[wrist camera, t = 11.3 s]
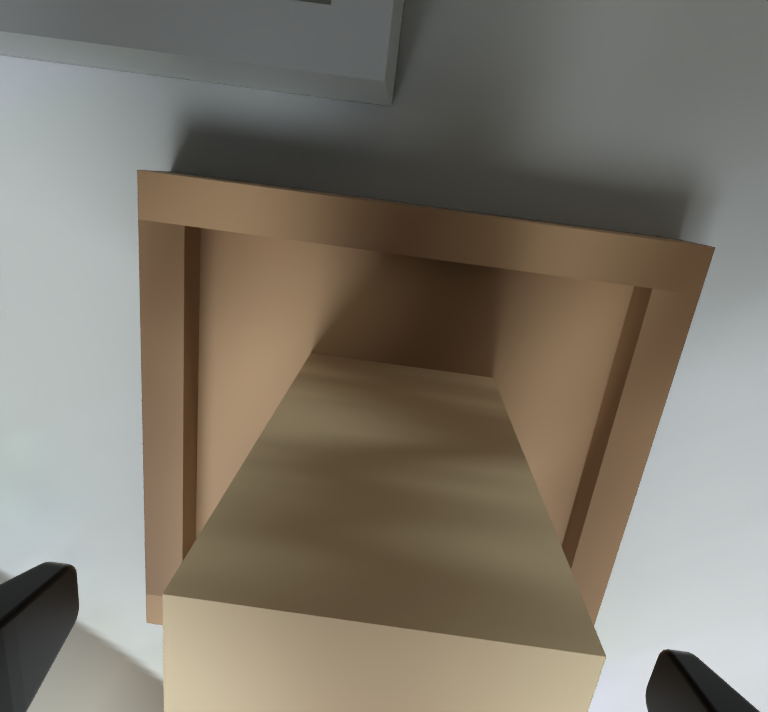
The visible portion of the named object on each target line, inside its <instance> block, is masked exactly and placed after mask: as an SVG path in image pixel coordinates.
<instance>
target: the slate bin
mask: <svg viewBox="0 0 768 712" xmlns="http://www.w3.org/2000/svg"><path fill="white" fill-rule="evenodd" d="M403 8H404V0H331V5H328V4H320V3H312V2H304V1H297V0H0V55H4V56H12V57H19V58H27V59H35V60H42V61H50V62H58V63H65V64H73V65H80V66H88V67H96V68H103V69H111V70H119V71H126V72H134V73H141V74H149V75H157V76H164V77H172V78H179V79H187V80H195V81H202V82H210V83H218V84H225V85H233V86H240V87H248V88H256V89H263V90H271V91H278V92H286V93H294V94H301V95H309V96H317V97H324V98H332V99H339V100H347V101H355V102H362V103H370V104H377V105H385V106H392V100H393V92H394V83H395V75H396V66H397V58H398V50H399V41H400V33H401V24H402V16H403Z"/></svg>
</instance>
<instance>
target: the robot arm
mask: <svg viewBox="0 0 768 712" xmlns="http://www.w3.org/2000/svg"><path fill="white" fill-rule="evenodd" d="M78 611H79V598H78V584H77V573H76V569H75V567H74V566H72V565H70V564H63V563H56V562H45V563H42V564H40V565H38V566H36V567H34V568H32V569H30V570H28V571H26V572H24V573H22V574H20V575H18V576H16V577H14V578H12V579H10V580H8V581H6V582H4V583H2V584H0V712H27V710H28V708H29V706H30V704H31V702H32V701H33V699H34V697H35V695H36V693H37V691H38V690H39V688H40V686H41V684H42V682H43V680H44V679H45V677H46V675H47V673H48V671H49V669H50V668H51V666H52V664H53V662H54V660H55V658H56V657H57V655H58V653H59V651H60V649H61V647H62V646H63V644H64V642H65V640H66V638H67V637H68V635H69V633H70V631H71V629H72V628H73V626H74V624H75V621H76V619H77V616H78ZM646 705H647V709H648V712H760V711H758V710H757V709H756V708H755V707H754V706H753V705H752V704H750V703H749V702H748V701H747V700H746V699H745V698H744V697H742V696H741V695H740V694H739V693H738V692H737V691H735V690H734V689H733V688H732V687H731V686H730V685H729V684H727V683H726V682H725V681H724V680H723V679H722V678H721V677H719V676H718V675H717V674H716V673H715V672H714V671H713V670H711V669H710V668H709V667H708V666H707V665H706V664H704V663H703V662H702V661H701V660H700V659H699V658H698V657H696V656H695V655H693V654H692V653H689V652H683V651H677V650H670V649H666V650H663V651H662V652H661V653H660V654H659V656H658V659H657V661H656V664H655V667H654V669H653V672H652V675H651V677H650V680H649V683H648V685H647V689H646Z"/></svg>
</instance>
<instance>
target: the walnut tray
mask: <svg viewBox="0 0 768 712" xmlns="http://www.w3.org/2000/svg"><path fill="white" fill-rule="evenodd" d="M137 180H138V228H139V277H140V326H141V374H142V423H143V472H144V520H145V569H146V618H147V623H152V624H159V625H163V593H164V591H165V589H166V588H167V586H168V585H169V583H170V581H171V580H172V578H173V576H174V575H175V573H176V572H177V570H178V568H179V567H180V565H181V563H182V562H183V560H184V559H185V557H186V555H187V554H188V552H189V550H190V549H191V547H192V545H193V544H194V542H195V541H196V539H197V537H198V536H199V534H200V532H201V531H202V529H203V528H204V526H205V524H206V523H207V521H208V519H209V518H210V516H211V515H212V513H213V511H214V510H215V508H216V506H217V505H218V503H219V502H220V500H221V498H222V497H223V495H224V493H225V492H226V490H227V489H228V487H229V485H230V484H231V482H232V480H233V479H234V477H235V475H236V474H237V472H238V471H239V469H240V467H241V466H242V464H243V462H244V461H245V459H246V458H247V456H248V454H249V453H250V451H251V449H252V448H253V446H254V445H255V443H256V441H257V440H258V438H259V436H260V435H261V433H262V432H263V430H264V428H265V427H266V425H267V423H268V422H269V420H270V418H271V417H272V415H273V414H274V412H275V410H276V409H277V407H278V405H279V404H280V402H281V401H282V399H283V397H284V396H285V394H286V392H287V391H288V389H289V388H290V386H291V384H292V383H293V381H294V379H295V378H296V376H297V375H298V373H299V371H300V370H301V368H302V366H303V365H304V363H305V362H306V360H307V358H308V357H309V355H310V353H312V354H320V355H327V356H335V357H342V358H350V359H357V360H365V361H372V362H379V363H387V364H394V365H402V366H409V367H417V368H424V369H432V370H439V371H447V372H454V373H461V374H469V375H476V376H484V377H491V378H493V379H494V381H495V384H496V386H497V389H498V391H499V394H500V396H501V399H502V401H503V403H504V406H505V408H506V411H507V413H508V416H509V418H510V421H511V423H512V426H513V428H514V431H515V433H516V436H517V438H518V441H519V443H520V445H521V448H522V450H523V453H524V455H525V458H526V460H527V463H528V465H529V468H530V470H531V473H532V475H533V478H534V480H535V482H536V485H537V487H538V490H539V492H540V495H541V497H542V500H543V502H544V505H545V507H546V510H547V512H548V515H549V517H550V519H551V522H552V524H553V527H554V529H555V532H556V534H557V537H558V539H559V542H560V544H561V547H562V549H563V552H564V554H565V557H566V559H567V561H568V564H569V566H570V569H571V571H572V574H573V576H574V579H575V581H576V584H577V586H578V589H579V591H580V594H581V596H582V598H583V601H584V603H585V606H586V608H587V611H588V613H589V616H590V618H591V621H592V623H593V626H594V624H595V621H596V618H597V615H598V612H599V608H600V605H601V602H602V599H603V596H604V593H605V590H606V587H607V584H608V580H609V577H610V574H611V571H612V568H613V565H614V562H615V559H616V555H617V552H618V549H619V546H620V543H621V540H622V537H623V534H624V531H625V527H626V524H627V521H628V518H629V515H630V512H631V509H632V506H633V502H634V499H635V496H636V493H637V490H638V487H639V484H640V481H641V478H642V474H643V471H644V468H645V465H646V462H647V459H648V456H649V453H650V449H651V446H652V443H653V440H654V437H655V434H656V431H657V428H658V425H659V421H660V418H661V415H662V412H663V409H664V406H665V403H666V400H667V396H668V393H669V390H670V387H671V384H672V381H673V378H674V375H675V372H676V368H677V365H678V362H679V359H680V356H681V353H682V350H683V347H684V343H685V340H686V337H687V334H688V331H689V328H690V325H691V322H692V319H693V315H694V312H695V309H696V306H697V303H698V300H699V297H700V294H701V290H702V287H703V284H704V281H705V278H706V275H707V272H708V269H709V266H710V262H711V259H712V256H713V253H714V250H715V247H712V246H707V245H702V244H697V243H693V242H688V241H683V240H677V239H670V238H662V237H655V236H647V235H640V234H632V233H625V232H617V231H610V230H602V229H595V228H587V227H580V226H572V225H565V224H557V223H550V222H542V221H535V220H527V219H520V218H513V217H505V216H498V215H490V214H483V213H475V212H468V211H460V210H453V209H445V208H438V207H430V206H423V205H415V204H408V203H400V202H393V201H385V200H378V199H370V198H363V197H355V196H348V195H340V194H333V193H325V192H318V191H310V190H303V189H296V188H288V187H281V186H273V185H266V184H258V183H251V182H243V181H236V180H228V179H221V178H213V177H206V176H198V175H191V174H183V173H176V172H167V171H147V170H137Z"/></svg>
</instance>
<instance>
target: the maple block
mask: <svg viewBox="0 0 768 712" xmlns="http://www.w3.org/2000/svg"><path fill="white" fill-rule="evenodd" d="M605 659H606V655H605V653H604V650H603V648H602V645H601V643H600V640H599V638H598V636H597V633H596V631H595V628H594V626H593V623H592V621H591V618H590V616H589V613H588V611H587V608H586V606H585V603H584V601H583V598H582V596H581V594H580V591H579V589H578V586H577V584H576V581H575V579H574V576H573V574H572V571H571V569H570V566H569V564H568V561H567V559H566V557H565V554H564V552H563V549H562V547H561V544H560V542H559V539H558V537H557V534H556V532H555V529H554V527H553V524H552V522H551V519H550V517H549V515H548V512H547V510H546V507H545V505H544V502H543V500H542V497H541V495H540V492H539V490H538V487H537V485H536V482H535V480H534V478H533V475H532V473H531V470H530V468H529V465H528V463H527V460H526V458H525V455H524V453H523V450H522V448H521V445H520V443H519V441H518V438H517V436H516V433H515V431H514V428H513V426H512V423H511V421H510V418H509V416H508V413H507V411H506V408H505V406H504V403H503V401H502V399H501V396H500V394H499V391H498V389H497V386H496V384H495V381H494V379H493V378H491V377H484V376H476V375H469V374H461V373H454V372H447V371H439V370H432V369H424V368H417V367H409V366H402V365H394V364H387V363H379V362H372V361H365V360H357V359H350V358H342V357H335V356H327V355H320V354H312V353H310V355H309V357H308V358H307V360H306V362H305V363H304V365H303V366H302V368H301V370H300V371H299V373H298V375H297V376H296V378H295V379H294V381H293V383H292V384H291V386H290V388H289V389H288V391H287V392H286V394H285V396H284V397H283V399H282V401H281V402H280V404H279V405H278V407H277V409H276V410H275V412H274V414H273V415H272V417H271V418H270V420H269V422H268V423H267V425H266V427H265V428H264V430H263V432H262V433H261V435H260V436H259V438H258V440H257V441H256V443H255V445H254V446H253V448H252V449H251V451H250V453H249V454H248V456H247V458H246V459H245V461H244V462H243V464H242V466H241V467H240V469H239V471H238V472H237V474H236V475H235V477H234V479H233V480H232V482H231V484H230V485H229V487H228V489H227V490H226V492H225V493H224V495H223V497H222V498H221V500H220V502H219V503H218V505H217V506H216V508H215V510H214V511H213V513H212V515H211V516H210V518H209V519H208V521H207V523H206V524H205V526H204V528H203V529H202V531H201V532H200V534H199V536H198V537H197V539H196V541H195V542H194V544H193V545H192V547H191V549H190V550H189V552H188V554H187V555H186V557H185V559H184V560H183V562H182V563H181V565H180V567H179V568H178V570H177V572H176V573H175V575H174V576H173V578H172V580H171V581H170V583H169V585H168V586H167V588H166V589H165V591H164V593H163V667H164V712H588V710H589V707H590V704H591V701H592V698H593V695H594V692H595V689H596V686H597V683H598V680H599V677H600V674H601V671H602V668H603V665H604V662H605Z"/></svg>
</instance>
